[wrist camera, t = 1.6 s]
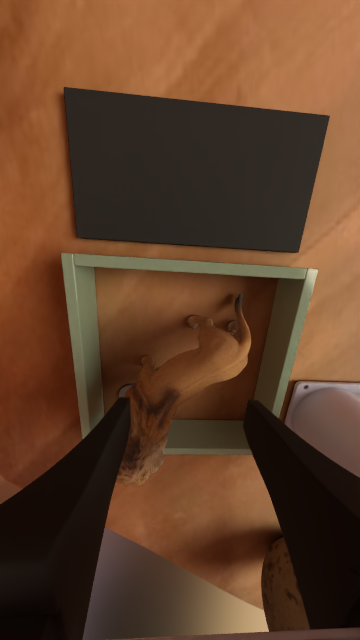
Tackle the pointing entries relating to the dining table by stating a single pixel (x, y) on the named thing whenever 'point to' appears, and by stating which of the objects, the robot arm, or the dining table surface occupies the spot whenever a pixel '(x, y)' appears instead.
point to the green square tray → (87, 367)
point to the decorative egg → (281, 591)
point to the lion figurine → (178, 391)
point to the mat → (191, 171)
